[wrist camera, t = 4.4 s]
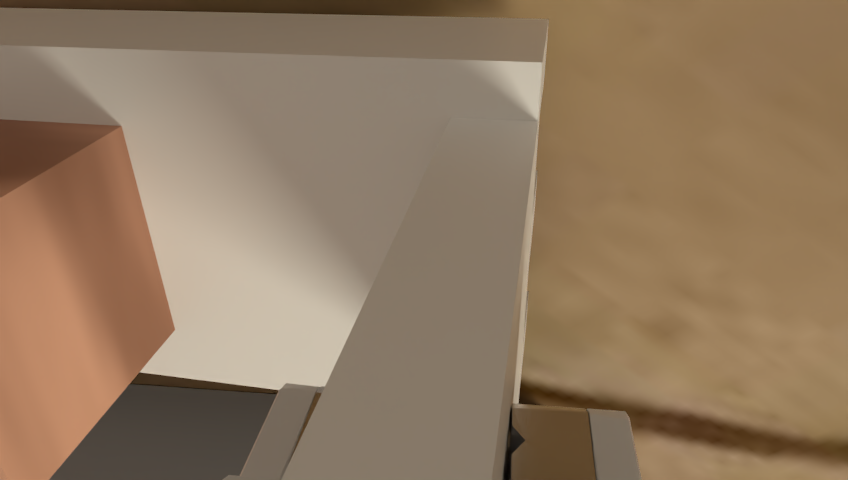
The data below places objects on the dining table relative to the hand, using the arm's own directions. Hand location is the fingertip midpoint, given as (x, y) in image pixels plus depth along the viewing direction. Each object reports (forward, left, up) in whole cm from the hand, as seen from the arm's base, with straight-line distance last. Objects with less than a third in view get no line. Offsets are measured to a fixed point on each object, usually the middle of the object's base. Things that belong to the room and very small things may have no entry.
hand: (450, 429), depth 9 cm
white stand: (+7, 0, -8) cm, 11 cm away
